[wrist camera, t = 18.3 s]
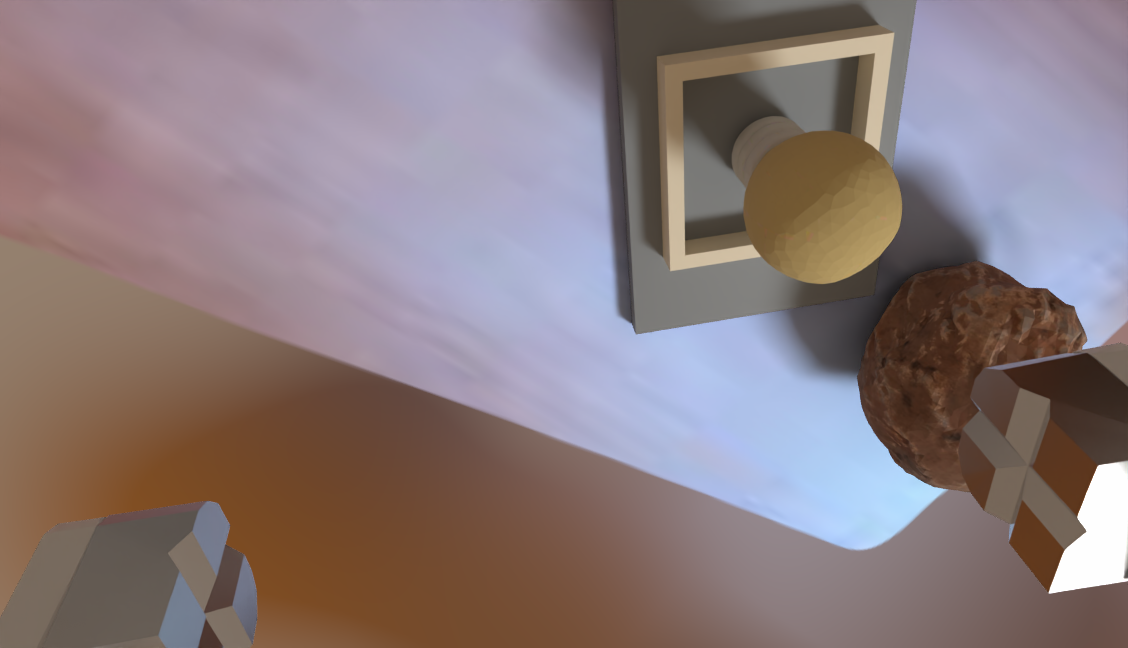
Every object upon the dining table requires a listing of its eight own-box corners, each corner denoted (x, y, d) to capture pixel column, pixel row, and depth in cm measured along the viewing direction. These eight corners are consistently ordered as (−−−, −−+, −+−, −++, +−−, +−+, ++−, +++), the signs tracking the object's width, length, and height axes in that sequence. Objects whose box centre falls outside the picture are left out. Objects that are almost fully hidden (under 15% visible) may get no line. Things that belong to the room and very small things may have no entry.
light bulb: (675, 149, 39) (742, 244, 31) (780, 55, 37) (880, 130, 29) (748, 229, 42) (826, 335, 34) (848, 146, 40) (956, 237, 32)
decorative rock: (913, 431, 54) (1000, 546, 46) (787, 380, 50) (858, 496, 42) (1057, 278, 49) (1186, 377, 40) (929, 206, 44) (1043, 300, 36)
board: (609, -54, 35) (620, -45, 33) (918, -95, 36) (948, -88, 33) (632, 324, 46) (641, 349, 44) (866, 286, 47) (886, 308, 45)
